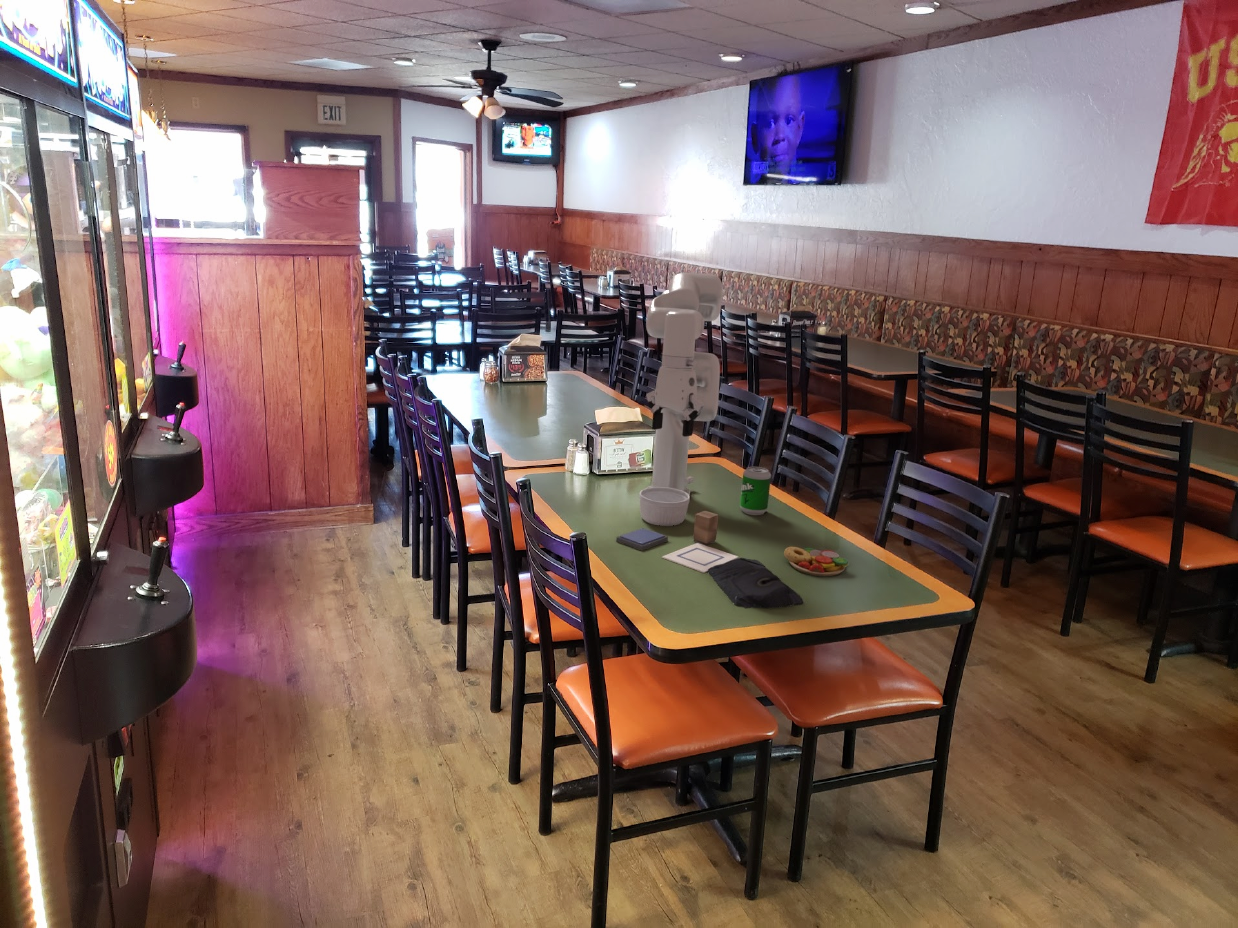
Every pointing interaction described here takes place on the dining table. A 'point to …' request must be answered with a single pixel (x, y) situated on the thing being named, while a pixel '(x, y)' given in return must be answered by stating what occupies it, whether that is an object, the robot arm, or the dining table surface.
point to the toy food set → (815, 561)
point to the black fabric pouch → (752, 585)
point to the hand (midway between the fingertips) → (671, 432)
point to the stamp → (705, 527)
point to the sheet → (699, 557)
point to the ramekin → (663, 505)
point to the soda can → (755, 490)
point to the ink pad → (642, 539)
